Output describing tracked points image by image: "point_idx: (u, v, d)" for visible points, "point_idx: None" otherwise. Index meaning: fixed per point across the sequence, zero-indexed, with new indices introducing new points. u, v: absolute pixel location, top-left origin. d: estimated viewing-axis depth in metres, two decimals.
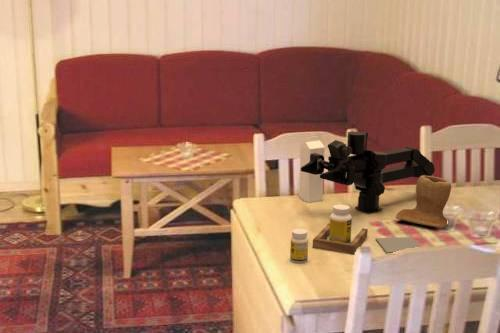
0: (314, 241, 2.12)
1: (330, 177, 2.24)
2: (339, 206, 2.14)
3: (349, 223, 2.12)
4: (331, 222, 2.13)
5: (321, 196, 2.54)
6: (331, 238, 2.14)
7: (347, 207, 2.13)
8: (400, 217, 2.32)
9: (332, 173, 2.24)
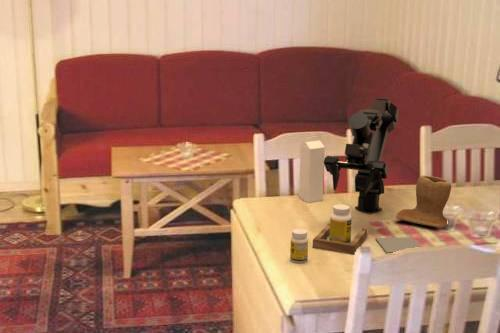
0: (314, 241, 2.12)
1: (370, 185, 2.19)
2: (339, 206, 2.14)
3: (349, 223, 2.12)
4: (331, 222, 2.13)
5: (321, 196, 2.54)
6: (331, 238, 2.14)
7: (347, 207, 2.13)
8: (400, 217, 2.32)
9: (371, 181, 2.19)
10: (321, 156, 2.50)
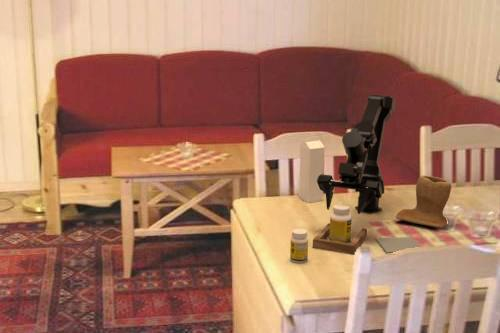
0: (314, 241, 2.12)
1: (364, 205, 2.15)
2: (339, 206, 2.14)
3: (349, 223, 2.12)
4: (331, 222, 2.13)
5: (321, 196, 2.54)
6: (331, 238, 2.14)
7: (347, 207, 2.13)
8: (400, 217, 2.32)
9: (365, 201, 2.14)
10: (321, 156, 2.50)
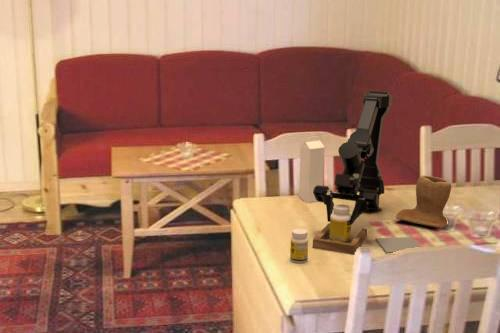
0: (314, 241, 2.12)
1: (356, 216, 2.13)
2: (339, 206, 2.14)
3: (349, 223, 2.12)
4: (331, 222, 2.13)
5: None
6: (331, 238, 2.14)
7: (347, 207, 2.13)
8: (400, 217, 2.32)
9: (357, 212, 2.13)
10: (321, 156, 2.50)
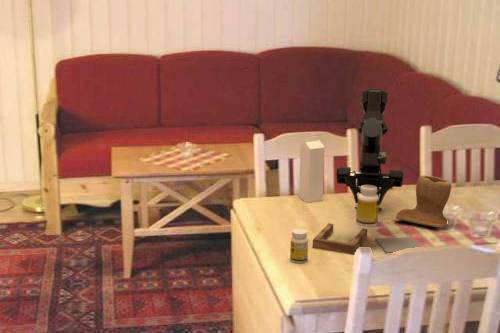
0: (314, 241, 2.12)
1: (384, 195, 2.11)
2: (366, 186, 2.10)
3: (378, 203, 2.09)
4: (360, 203, 2.09)
5: (321, 196, 2.54)
6: (360, 219, 2.10)
7: (375, 187, 2.10)
8: (400, 217, 2.32)
9: (384, 191, 2.10)
10: (321, 156, 2.50)
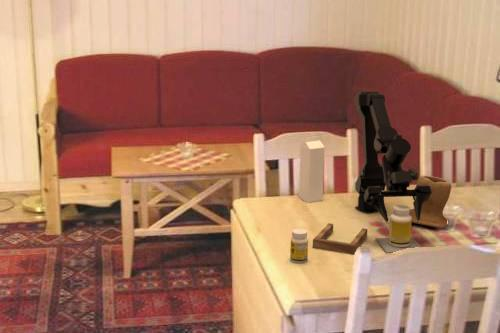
0: (314, 241, 2.12)
1: None
2: (399, 207, 2.11)
3: (411, 222, 2.12)
4: (395, 224, 2.10)
5: (321, 196, 2.54)
6: (396, 241, 2.11)
7: (407, 207, 2.12)
8: None
9: None
10: (321, 156, 2.50)
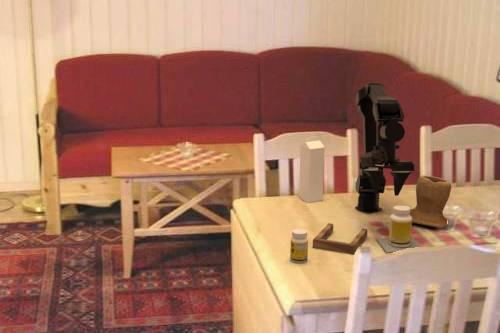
0: (314, 241, 2.12)
1: (400, 185, 2.15)
2: (399, 207, 2.11)
3: (411, 222, 2.12)
4: (396, 225, 2.10)
5: (321, 196, 2.54)
6: (396, 241, 2.11)
7: (407, 207, 2.12)
8: None
9: (397, 183, 2.15)
10: (321, 156, 2.50)
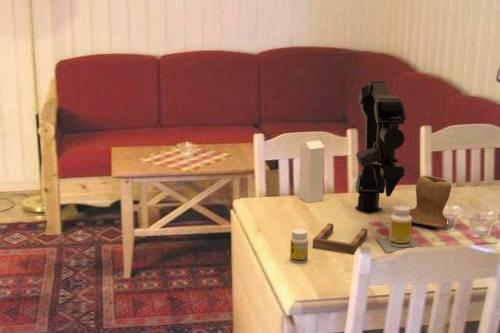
0: (314, 241, 2.12)
1: (391, 186, 2.15)
2: (399, 207, 2.11)
3: (411, 222, 2.12)
4: (396, 225, 2.10)
5: (321, 196, 2.54)
6: (396, 241, 2.11)
7: (407, 207, 2.12)
8: None
9: (388, 185, 2.15)
10: (321, 156, 2.50)
